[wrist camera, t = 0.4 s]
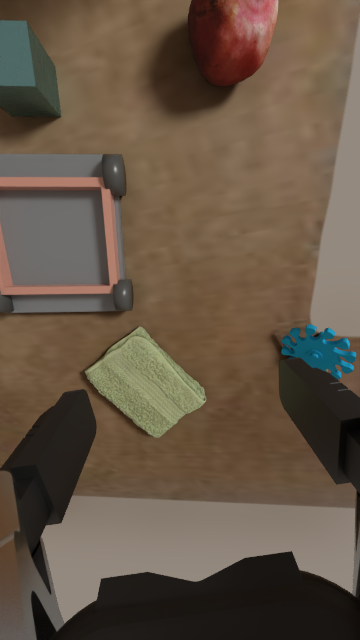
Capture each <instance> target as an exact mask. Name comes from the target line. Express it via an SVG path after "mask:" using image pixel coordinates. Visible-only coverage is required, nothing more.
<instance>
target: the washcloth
mask: <svg viewBox="0 0 360 640" xmlns="http://www.w3.org/2000/svg"><path fill="white" fill-rule="evenodd" d="M85 373H86V375H87V379H88V380H90V382H91V383H92V384H93V385H94V387H96V389H97V390H98V392H99V393H100V394H102V395H103V396H106V398H107V399H109V401H111V402H112V403H113V404H114V405H116V407H117V408H120V411H122V412H123V413H124V414H125V415H127V416H128V417H129V418H131V419H132V420H133V422H134V423H135V424H136V425H137V426H138V427H141V428H142V429H143V430H145V431H146V432H148V434H150V435H152V436H154V437H156V438H157V437H161V436H162V435H163V434H164V433H165V432H166V431H167V430H168V429H169V428H171V427H172V426H173V425H175V424H176V423H177V421H178V420H179V419H180V418H181V417H182V416H184V415H185V414H186V413H187V414H189V413H191V412H193V411H194V410H196V409H198V408H200V407H201V406H202V405H203V404H204V403H205V402H206V397H205V395H204V394H205V393H204V388H203V387H201V386H200V385H199V384H198V382H197V381H195V380H193V378H191V377H190V376H189V375H188V374H187V373H186V372H184V370H183V369H182V368H180V366H179V365H177V364H176V363H175V361H173V360H172V359H171V358H170V356H168V355H167V353H165V351H163V350H162V349H161V348H159V346H158V344H157V343H155V342H154V340H153V339H151V338H150V335H149V334H148V333H147V332H146V331H145V329H144V328H142V327H140V326H139V327H138V328H137V329H136V330H135V331H133V332H132V333H131V334H130V335H128V336H127V337H125V338H124V339H122V340H121V341H119V342H118V343H116V344H115V345H113V346H112V347H111V348H110V349H109V350H108V351H107V352H106V354H105V356H103V357H102V358H101V359H100V360H99V361H97V362H96V363H95V364H94V365H92V366H91V367H89V368H88V369H86V370H85Z"/></svg>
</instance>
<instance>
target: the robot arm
mask: <svg viewBox="0 0 360 640" xmlns="http://www.w3.org/2000/svg"><path fill="white" fill-rule="evenodd" d="M279 394H280V399H281V403H282V405H283V407H284V409H285V411H286V412H287V413H288V415H289V416H290V418H291V419H292V421H293V422H294V424H295V425H296V426H297V428H298V429H299V431H300V432H301V434H302V435H303V437H304V438H305V440H306V441H307V442H308V444H309V445H310V447H311V448H312V450H313V451H314V453H315V454H316V456H317V457H318V458H319V460H320V461H321V463H322V464H323V466H324V467H325V469H326V470H327V471H328V473H329V474H330V476H331V477H332V479H333V480H334V482H335V483H336V484H343V483H350V482H351V483H352V484H353V486H354V487H355V488H356V505H355V548H354V574H353V590H352V594H351V593H350V592H348V591H347V590H345V589H343V588H342V587H340V586H338V585H337V584H335V583H333V582H331V581H328V580H327V579H324V578H322V577H321V576H317V575H315V574H311V573H309V572H305V571H300V570H299V568H298V566H297V563H296V561H295V558H294V556H293V553H292V551H291V552H284V553H277V554H270V555H263V556H256V557H249V558H244V559H242V560H240V561H238V562H236V563H234V564H232V565H231V566H229V567H227V568H225V569H223V570H221V571H219V572H217V573H215V574H213V575H211V576H209V577H207V578H206V579H204V580H201V581H198V582H193V581H187V580H183V579H178V578H174V577H169V576H164V575H159V574H155V573H150V572H145V573H138V574H131V575H124V576H117V577H110V578H103V579H101V582H100V587H99V592H98V597H97V600H96V601H94V602H92V603H91V604H89V605H88V606H86V607H85V608H84V609H82V610H81V611H79V612H78V613H77V614H75V615H74V616H73V617H72V618H71V619H69V620H68V621H67V622H66V623H64V621H63V618H62V615H61V612H60V610H59V606H58V602H57V598H56V595H55V590H54V585H53V581H52V577H51V572H50V568H49V564H48V560H47V555H46V551H45V547H44V543H43V540H42V538H41V535H42V533H43V530H44V528H45V526H46V525H52V524H59V523H61V522H62V520H63V517H64V515H65V512H66V510H67V507H68V505H69V502H70V499H71V497H72V494H73V492H74V489H75V487H76V484H77V481H78V479H79V476H80V474H81V471H82V469H83V466H84V464H85V461H86V458H87V456H88V453H89V451H90V448H91V446H92V443H93V441H94V438H95V435H96V420H95V416H94V413H93V410H92V407H91V403H90V400H89V397H88V394H87V392H86V390H84V389H82V390H76V391H69V392H65V393H63V395H62V396H61V397H60V399H59V400H58V402H57V403H56V404H55V406H52V407H51V408H50V409H48V410H47V411H46V412H45V413H43V414H42V415H41V416H40V417H39V418H38V420H37V421H36V422H35V424H34V425H33V426H32V429H30V430H29V432H28V433H27V434H26V437H25V438H23V439H22V441H21V442H20V443H19V445H18V446H17V447H16V449H15V450H14V451H13V453H12V454H11V455H10V457H9V458H8V459H7V461H6V462H5V463H4V465H3V466H2V467H1V469H0V640H360V398H359V397H358V396H357V395H356V394H354V393H353V392H352V391H351V390H348V388H347V387H346V386H345V385H343V384H342V383H340V381H338V380H337V379H336V378H335V377H334V376H332V375H331V374H330V373H328V372H325V371H323V370H321V369H319V368H312V367H311V366H310V365H308V364H307V363H306V362H305V361H304V360H303V359H301V358H300V357H298V358H291V359H285V360H280V362H279Z"/></svg>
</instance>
